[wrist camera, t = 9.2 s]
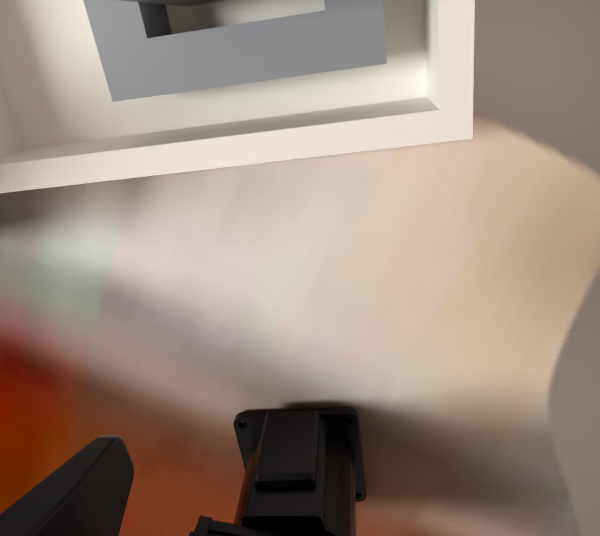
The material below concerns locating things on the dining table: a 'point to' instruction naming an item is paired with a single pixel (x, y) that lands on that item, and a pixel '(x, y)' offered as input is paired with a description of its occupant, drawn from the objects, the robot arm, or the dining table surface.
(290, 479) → the robot arm
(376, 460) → the dining table surface
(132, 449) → the dining table surface
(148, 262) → the dining table surface
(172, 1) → the plug
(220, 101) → the box
